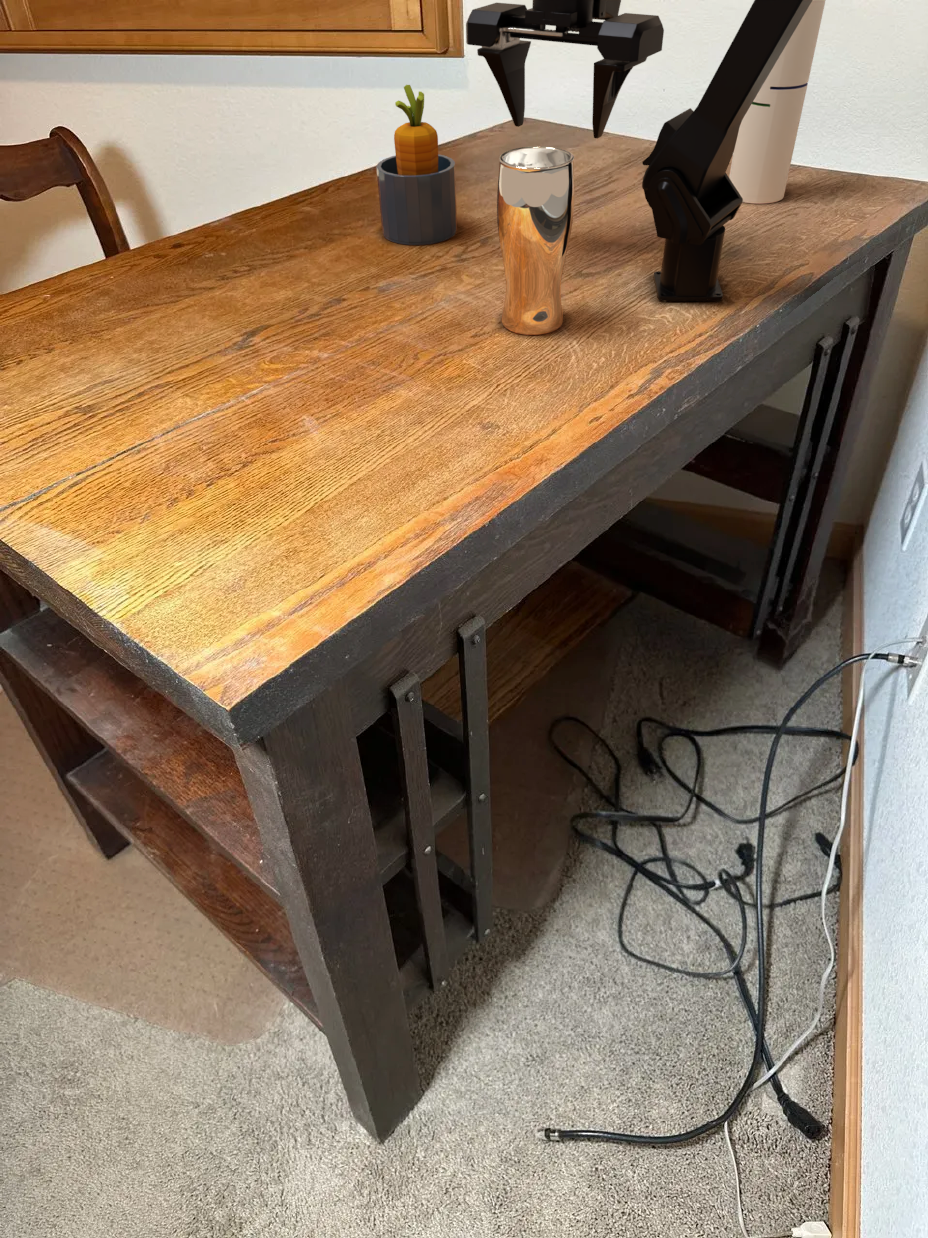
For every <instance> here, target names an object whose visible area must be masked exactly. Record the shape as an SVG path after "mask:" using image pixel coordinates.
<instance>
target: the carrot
mask: <svg viewBox="0 0 928 1238" xmlns="http://www.w3.org/2000/svg"><path fill="white" fill-rule="evenodd" d="M403 89H404V93H405V96H406V98H407V100H408V103H409V105H407V104H406V103H405V102H403V101H401V100H397V101H395V103H394V105H395V107H397V108H398V109H400V110H402V112H404V114H405V115H406V116H407V119H408V121H409V122H405V123H403V124H401V125H400V126H398V127H397V128H396V130H394V134H393V142H394V153H395V156H396V162H397V170H398V175H425V174H431V173H436V172H438V154H439V136H438V135H439V134H438V132H437V129H435V128H434V127H433V126H432V125H431V124H430V123H428V122H427V121H426V122H425V121H422V119H423V114H424V108H425V93H424V92H422V91H418V95H417V97H416V96H415V93H414V92H413V88H412V87H411V84H405V85H404V86H403Z"/></svg>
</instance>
